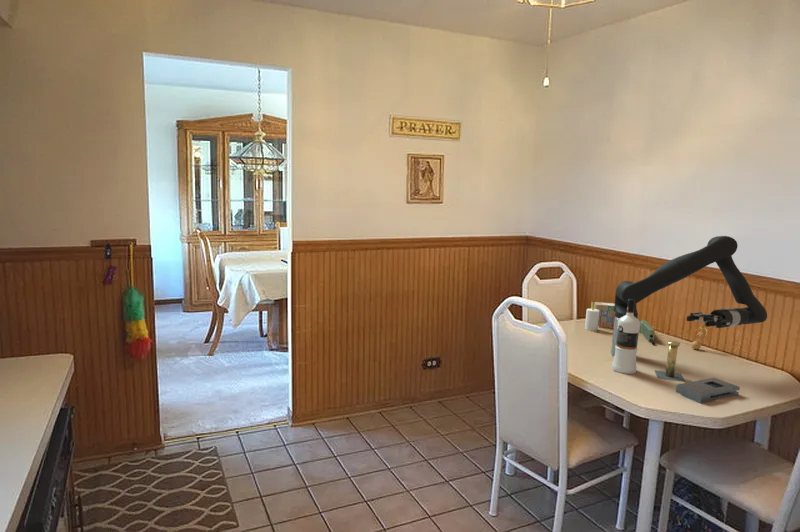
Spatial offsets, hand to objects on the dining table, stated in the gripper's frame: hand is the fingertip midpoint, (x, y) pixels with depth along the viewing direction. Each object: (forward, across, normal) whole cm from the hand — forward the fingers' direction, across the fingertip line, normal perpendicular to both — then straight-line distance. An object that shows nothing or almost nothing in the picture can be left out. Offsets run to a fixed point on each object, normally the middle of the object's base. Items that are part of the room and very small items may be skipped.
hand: (696, 321), depth 217 cm
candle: (-7, -66, +22) cm, 70 cm away
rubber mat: (+12, 0, +22) cm, 25 cm away
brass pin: (+12, 0, +22) cm, 24 cm away
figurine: (-33, -24, +23) cm, 47 cm away
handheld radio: (-24, -45, +23) cm, 56 cm away
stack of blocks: (-23, -67, +22) cm, 75 cm away
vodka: (+24, -11, +22) cm, 35 cm away
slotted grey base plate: (+13, +18, +22) cm, 31 cm away
